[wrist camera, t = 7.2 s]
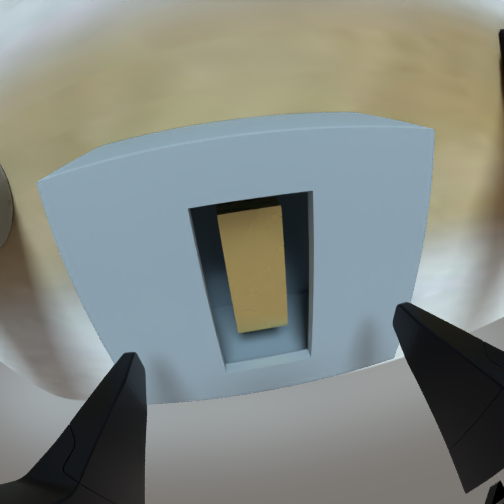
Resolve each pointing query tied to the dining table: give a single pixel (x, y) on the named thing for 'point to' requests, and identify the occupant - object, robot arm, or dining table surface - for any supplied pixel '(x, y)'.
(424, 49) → the dining table surface
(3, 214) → the thermos bottle
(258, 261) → the tan rectangular block
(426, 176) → the box
